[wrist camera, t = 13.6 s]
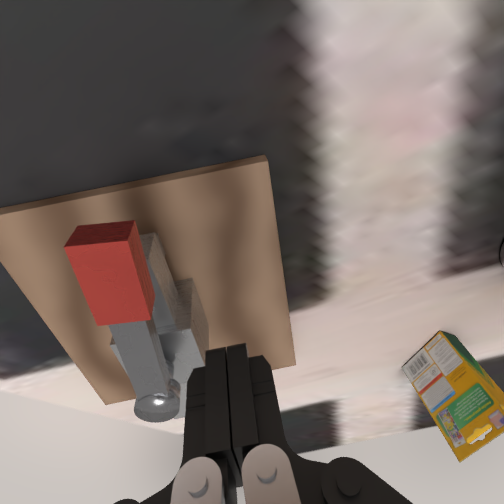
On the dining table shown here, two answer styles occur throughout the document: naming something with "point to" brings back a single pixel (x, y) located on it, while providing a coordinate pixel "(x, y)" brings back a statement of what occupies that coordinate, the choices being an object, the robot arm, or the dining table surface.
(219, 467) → the robot arm
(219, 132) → the dining table surface
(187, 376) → the steel pipe and valve
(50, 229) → the walnut board
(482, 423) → the crayon box
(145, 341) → the lever
